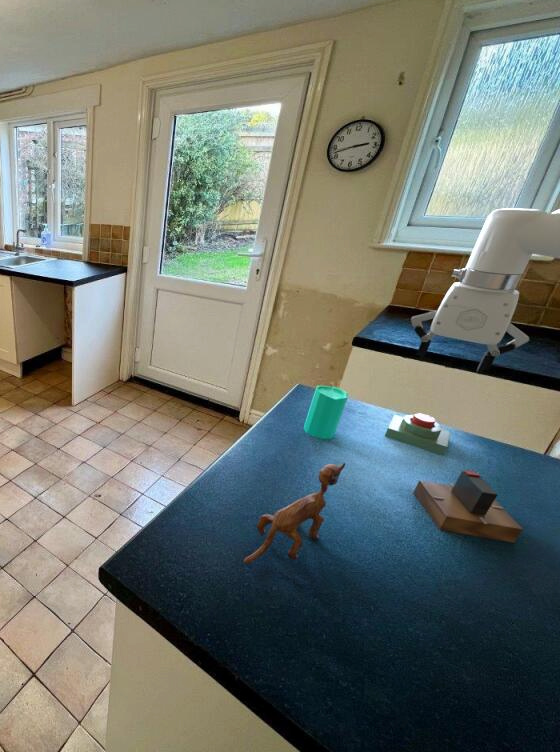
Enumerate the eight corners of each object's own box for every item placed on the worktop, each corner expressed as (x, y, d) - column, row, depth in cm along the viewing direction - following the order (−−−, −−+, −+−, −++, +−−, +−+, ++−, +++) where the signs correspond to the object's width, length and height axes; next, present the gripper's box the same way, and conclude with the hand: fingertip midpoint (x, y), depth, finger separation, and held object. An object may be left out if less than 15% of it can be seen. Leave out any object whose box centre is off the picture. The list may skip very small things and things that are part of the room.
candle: (299, 431, 95) (313, 384, 89) (308, 421, 98) (322, 376, 93) (329, 442, 91) (346, 394, 85) (337, 431, 94) (354, 385, 89)
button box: (446, 439, 91) (454, 424, 90) (443, 455, 86) (451, 439, 85) (390, 422, 98) (396, 407, 96) (384, 436, 93) (390, 421, 91)
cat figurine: (261, 585, 60) (285, 515, 54) (224, 552, 65) (242, 484, 59) (334, 538, 67) (362, 471, 61) (296, 511, 72) (318, 447, 67)
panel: (477, 502, 74) (485, 488, 73) (515, 544, 66) (525, 530, 65) (411, 491, 77) (418, 478, 75) (440, 531, 68) (448, 517, 67)
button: (433, 424, 90) (436, 417, 90) (431, 431, 88) (434, 424, 87) (412, 418, 93) (415, 411, 92) (410, 424, 90) (413, 417, 90)
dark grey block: (485, 515, 67) (499, 493, 65) (470, 513, 68) (483, 491, 66) (464, 492, 72) (476, 471, 70) (451, 490, 73) (462, 469, 71)
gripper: (425, 276, 80) (393, 358, 87) (560, 292, 69) (510, 385, 76) (430, 269, 84) (398, 348, 92) (557, 284, 73) (509, 372, 81)
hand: (449, 364), depth 84 cm, fingers open, 8 cm apart
